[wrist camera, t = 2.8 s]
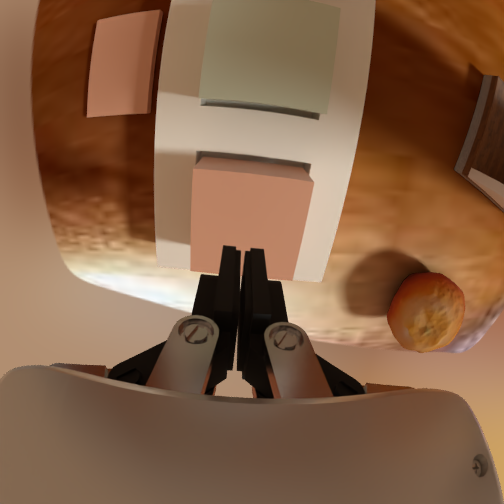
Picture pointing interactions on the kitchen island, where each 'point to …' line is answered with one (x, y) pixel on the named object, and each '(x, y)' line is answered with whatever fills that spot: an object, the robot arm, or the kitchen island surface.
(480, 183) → the tiered shelf stand
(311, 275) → the keypad board
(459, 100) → the kitchen island surface
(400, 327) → the fruit
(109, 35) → the tile
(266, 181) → the key terracotta
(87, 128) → the kitchen island surface
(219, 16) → the key sage
